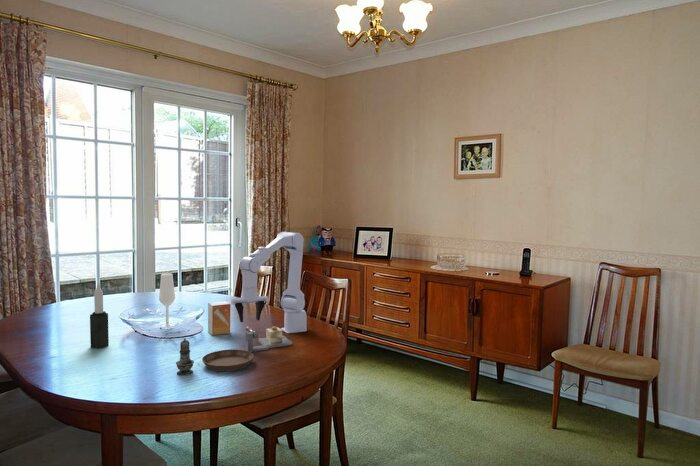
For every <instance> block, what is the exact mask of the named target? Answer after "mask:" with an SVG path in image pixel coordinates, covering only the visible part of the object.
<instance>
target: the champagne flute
mask: <svg viewBox="0 0 700 466" xmlns="http://www.w3.org/2000/svg"><path fill="white" fill-rule="evenodd" d="M173 275H174V274H173V273H170V272H169V273H161V274H160V282H159V283H160V284H159V294H158V295H159V297H158V301H159V302H160V303H161V304H162V305H163V306H165V323H164V324H162V326H164V327H171V326H172V325H173V324H171V323H169V322H170V320H169V317H170V316H169V315H170V314H169V313H170V312H169V309H170V308H169V306H171V305H172V304H173V303H174V302H175V300H176V294H175V292H176V291H175V284H174V276H173Z"/></svg>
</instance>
